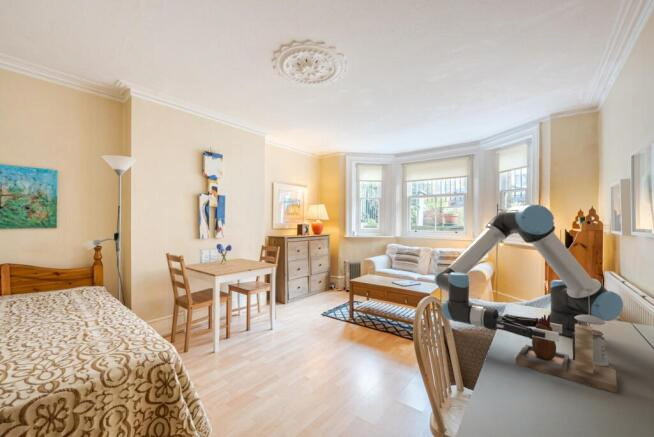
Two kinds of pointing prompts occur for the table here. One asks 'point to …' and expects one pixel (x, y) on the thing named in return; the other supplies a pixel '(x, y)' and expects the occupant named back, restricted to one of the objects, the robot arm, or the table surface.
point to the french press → (595, 336)
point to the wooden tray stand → (573, 362)
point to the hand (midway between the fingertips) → (560, 333)
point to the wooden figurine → (544, 341)
